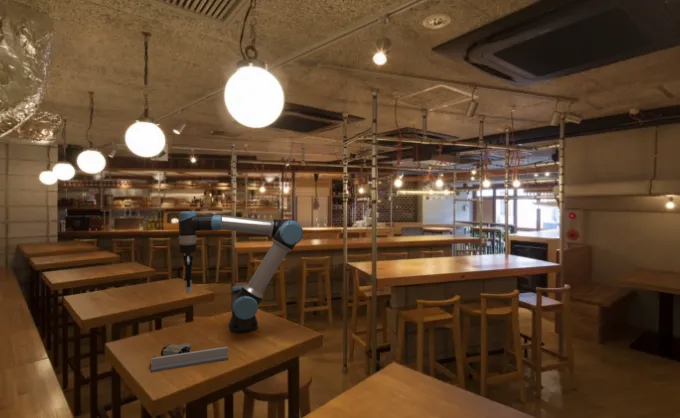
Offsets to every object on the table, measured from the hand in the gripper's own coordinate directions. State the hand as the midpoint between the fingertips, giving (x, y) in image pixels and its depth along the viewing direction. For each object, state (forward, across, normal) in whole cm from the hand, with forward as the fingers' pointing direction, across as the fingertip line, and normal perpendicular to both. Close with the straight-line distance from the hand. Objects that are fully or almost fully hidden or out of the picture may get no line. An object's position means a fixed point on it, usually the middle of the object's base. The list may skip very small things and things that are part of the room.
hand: (188, 293), depth 182 cm
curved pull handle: (+24, +22, 0) cm, 33 cm away
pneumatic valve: (+22, +9, -1) cm, 24 cm away
